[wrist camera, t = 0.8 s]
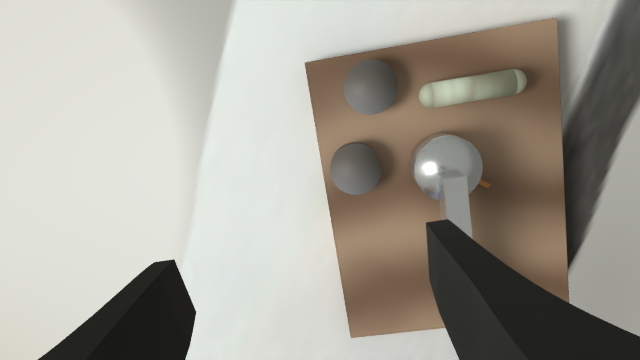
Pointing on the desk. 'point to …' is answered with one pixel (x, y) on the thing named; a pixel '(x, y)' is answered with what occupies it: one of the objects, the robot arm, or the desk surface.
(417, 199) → the brown flat board
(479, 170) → the door lever handle
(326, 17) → the desk surface
